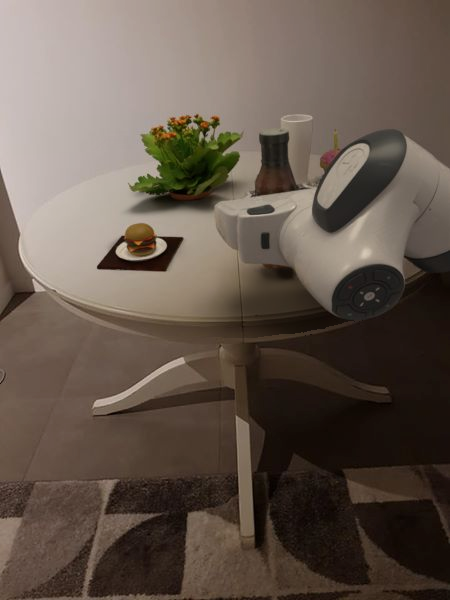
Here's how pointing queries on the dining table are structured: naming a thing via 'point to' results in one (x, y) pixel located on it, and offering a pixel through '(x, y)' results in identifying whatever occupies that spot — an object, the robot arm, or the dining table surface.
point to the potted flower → (188, 159)
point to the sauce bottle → (274, 167)
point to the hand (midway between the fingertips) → (274, 192)
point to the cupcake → (329, 154)
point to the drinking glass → (299, 144)
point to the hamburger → (141, 250)
